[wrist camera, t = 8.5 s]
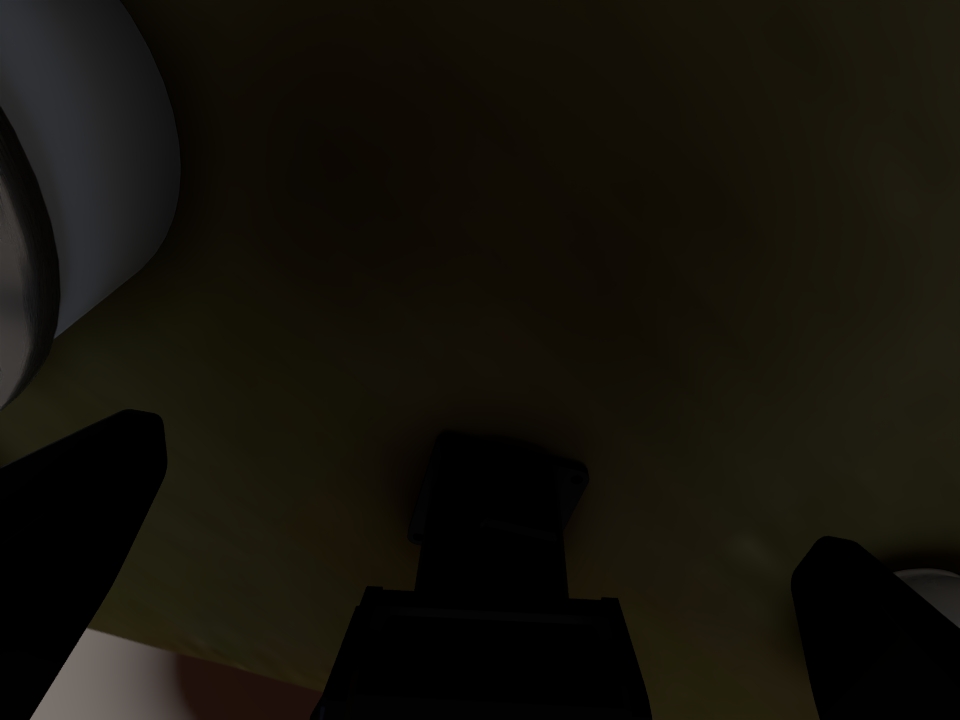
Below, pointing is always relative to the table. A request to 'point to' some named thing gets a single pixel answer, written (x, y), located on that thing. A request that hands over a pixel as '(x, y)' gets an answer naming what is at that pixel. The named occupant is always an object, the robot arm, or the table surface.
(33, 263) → the lid
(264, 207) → the table surface
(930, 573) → the lidded jar
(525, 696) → the robot arm
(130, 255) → the pot
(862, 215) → the table surface
